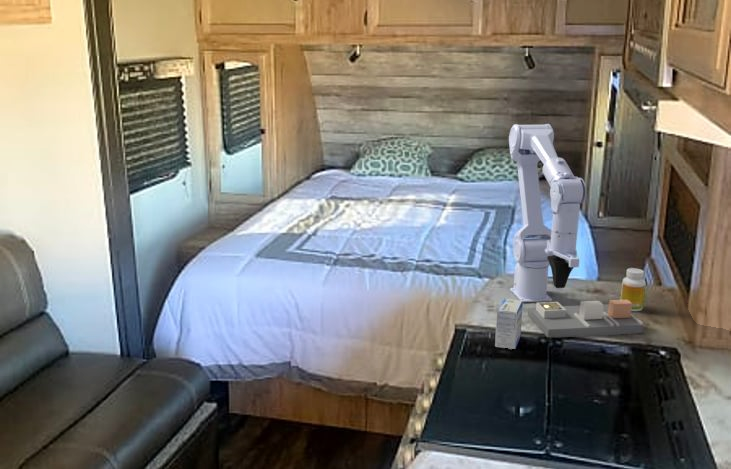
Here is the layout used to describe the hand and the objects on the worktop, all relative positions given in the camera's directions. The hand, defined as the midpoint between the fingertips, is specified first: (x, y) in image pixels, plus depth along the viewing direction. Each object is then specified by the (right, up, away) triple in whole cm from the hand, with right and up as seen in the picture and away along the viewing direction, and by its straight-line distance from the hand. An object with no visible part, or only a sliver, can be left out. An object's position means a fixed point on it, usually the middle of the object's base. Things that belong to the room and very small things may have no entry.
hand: (559, 287), depth 172 cm
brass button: (-2, -6, +1) cm, 6 cm away
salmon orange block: (+14, -7, 0) cm, 15 cm away
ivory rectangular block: (+7, -7, -1) cm, 10 cm away
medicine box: (-14, -12, -10) cm, 20 cm away
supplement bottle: (+21, -6, +11) cm, 24 cm away
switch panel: (+6, -9, 0) cm, 10 cm away
